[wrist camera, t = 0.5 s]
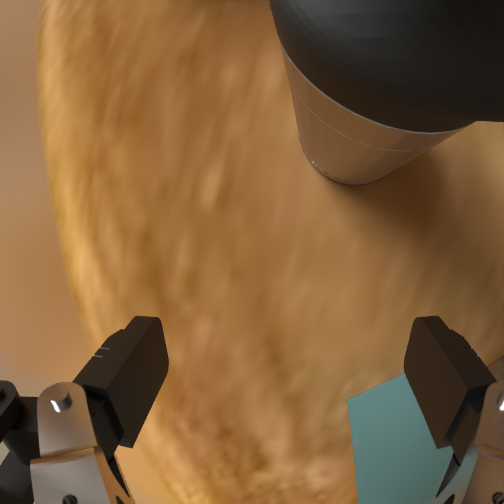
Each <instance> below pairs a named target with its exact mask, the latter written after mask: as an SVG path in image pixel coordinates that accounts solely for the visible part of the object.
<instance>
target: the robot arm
mask: <svg viewBox="0 0 504 504" xmlns="http://www.w3.org/2000/svg"><path fill="white" fill-rule="evenodd" d="M270 5H271V9H272V14H273V17H274V21H275V25H276V29H277V33H278V36H279V39H280V44H281V48H282V52H283V57H284V61H285V66H286V71H287V74H288V79H289V84H290V89H291V94H292V99H293V105H294V110H295V115H296V121H297V127H298V133H299V138H300V142H301V145H302V149H303V151H304V153H305V155H306V157H307V159H308V160H309V161H310V163H311V164H312V165H313V166H314V168H316V169H317V170H318V171H319V172H320V173H322V174H323V175H324V176H326V177H328V178H330V179H332V180H333V181H336V182H340V183H343V184H350V185H361V184H367V183H370V182H373V181H376V180H378V179H380V178H381V177H383V176H385V175H387V174H389V173H390V172H392V171H394V170H396V169H397V168H399V167H401V166H402V165H404V164H406V163H407V162H409V161H411V160H412V159H414V158H416V157H418V156H419V155H421V154H423V153H424V152H426V151H428V150H429V149H431V148H433V147H434V146H436V145H438V144H439V143H441V142H443V141H444V140H446V139H447V138H449V137H451V136H452V135H454V134H456V133H457V132H459V131H461V130H462V129H464V128H466V127H467V126H469V125H471V124H472V123H474V122H475V121H492V122H504V0H270ZM168 366H169V359H168V353H167V348H166V343H165V338H164V333H163V328H162V323H161V320H160V319H159V318H158V317H148V316H135V317H134V318H133V319H132V320H131V322H130V323H129V324H128V325H127V327H126V328H125V329H124V330H123V329H121V330H119V331H117V332H116V333H114V334H113V335H111V336H109V337H108V338H107V340H106V341H105V342H104V343H103V344H102V346H101V348H99V349H98V350H97V352H96V353H95V356H93V357H92V358H91V359H90V360H89V362H88V363H87V364H86V365H85V366H84V368H83V369H82V370H81V372H80V373H79V374H78V375H77V377H76V378H75V379H74V380H73V382H61V383H56V384H53V385H51V386H49V387H48V388H46V389H45V390H44V391H43V392H42V393H41V394H40V396H39V397H21V396H19V394H18V392H17V390H16V388H15V386H14V385H13V384H12V383H11V382H8V381H3V380H2V381H0V443H1V442H2V441H3V442H4V444H5V445H6V446H7V448H8V449H9V450H10V451H9V453H8V454H7V456H6V458H5V459H4V461H3V462H2V464H1V465H0V504H33V503H34V501H35V504H135V501H134V499H133V497H132V495H131V492H130V490H129V488H128V485H127V483H126V480H125V478H124V475H123V473H122V470H121V467H120V465H119V462H118V459H117V457H116V455H115V453H114V452H115V450H116V448H117V446H118V445H120V446H125V447H129V448H133V446H134V443H135V441H136V439H137V437H138V435H139V433H140V431H141V428H142V426H143V424H144V422H145V420H146V418H147V416H148V413H149V411H150V409H151V407H152V405H153V403H154V401H155V399H156V396H157V394H158V392H159V390H160V388H161V386H162V384H163V382H164V380H165V378H166V375H167V372H168ZM404 371H405V375H406V378H407V380H408V382H409V384H410V387H411V389H412V391H413V393H414V396H415V398H416V400H417V402H418V405H419V407H420V409H421V412H422V414H423V416H424V419H425V421H426V423H427V426H428V428H429V431H430V433H431V436H432V438H433V441H434V443H435V446H436V448H437V449H441V448H445V447H448V446H451V447H452V449H453V452H452V453H451V455H450V457H449V459H448V461H447V464H446V466H445V469H444V471H443V474H442V476H441V478H440V481H439V483H438V485H437V487H436V490H435V492H434V494H433V496H432V498H431V500H430V502H429V504H504V381H501V382H497V380H496V379H495V378H494V376H493V375H492V373H491V372H490V371H489V369H488V368H487V367H486V365H485V364H484V363H483V361H482V360H481V359H480V358H479V356H478V357H477V354H476V352H475V351H474V350H473V349H471V346H470V345H469V344H468V342H467V341H466V340H465V339H464V337H462V336H461V335H459V334H458V333H456V332H455V331H453V330H452V329H451V330H450V329H449V328H448V327H447V326H446V324H445V323H444V322H443V321H442V319H441V318H440V317H439V316H428V317H417V318H416V319H415V320H414V322H413V325H412V330H411V334H410V338H409V342H408V346H407V350H406V354H405V358H404Z"/></svg>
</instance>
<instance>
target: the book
mask: <svg viewBox="0 0 504 504" xmlns="http://www.w3.org/2000/svg"><path fill="white" fill-rule="evenodd" d="M347 404H348V411H349V419H350V426H351V435H352V443H353V452H354V462H355V472H356V483H357V495H358V504H429V502H430V500H431V498H432V496H433V494H434V492H435V490H436V487H437V485H438V483H439V481H440V478H441V476H442V474H443V471H444V469H445V466H446V464H447V461H448V459H449V457H450V455H451V453H452V452H453V449H452V447H451V446H448V447H445V448H441V449H437V448H436V446H435V443H434V441H433V438H432V436H431V433H430V431H429V428H428V426H427V423H426V421H425V419H424V416H423V414H422V412H421V409H420V407H419V405H418V402H417V400H416V398H415V396H414V393H413V391H412V389H411V387H410V384H409V382H408V380H407V378H406V375H405V373H403V374H401V375H399V376H397V377H395V378H393V379H391V380H389V381H387V382H385V383H383V384H381V385H379V386H376V387H374V388H372V389H370V390H368V391H365V392H363V393H361V394H359V395H356V396H354V397H352V398H349V399H347Z"/></svg>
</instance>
